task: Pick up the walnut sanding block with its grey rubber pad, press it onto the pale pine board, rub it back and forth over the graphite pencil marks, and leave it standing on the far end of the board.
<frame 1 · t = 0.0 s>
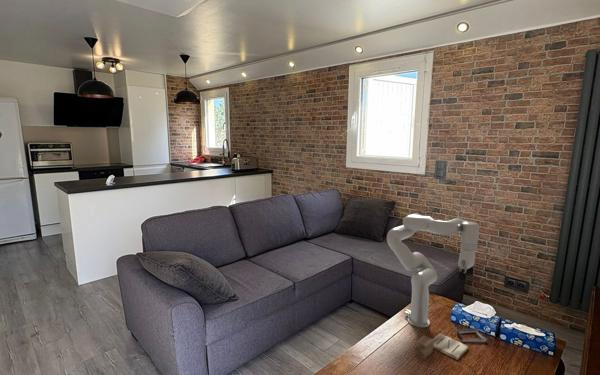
hand: (465, 277, 166), 37 cm above the table, tool pointing down, fingers open, 9 cm apart
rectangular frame: (469, 337, 176), on the table
walnut sanding block: (424, 353, 162), on the table
pine board: (448, 347, 167), on the table
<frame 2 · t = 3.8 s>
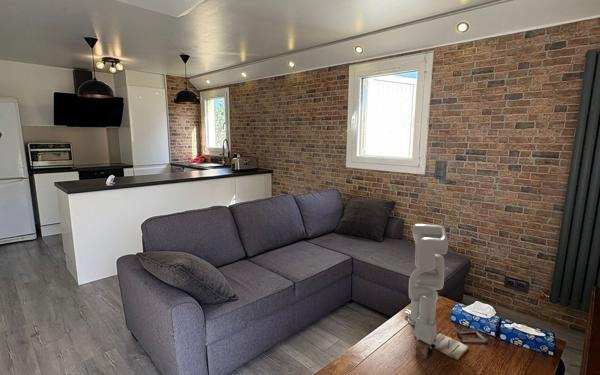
hand: (424, 351, 162), 1 cm above the table, tool pointing down, fingers closed on walnut sanding block, 5 cm apart
walnut sanding block: (424, 352, 162), on the table, touching gripper
everything else where it was.
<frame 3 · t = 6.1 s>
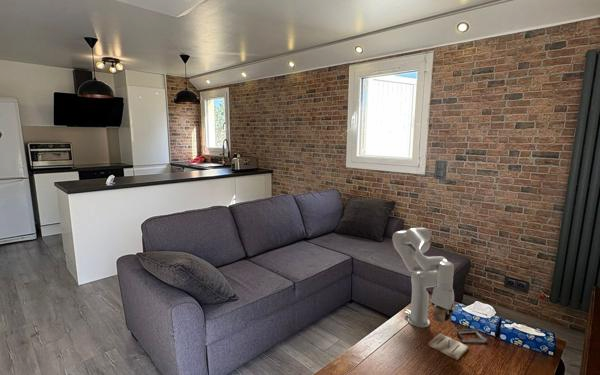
hand: (441, 317, 168), 15 cm above the table, tool pointing down, fingers closed on walnut sanding block, 5 cm apart
walnut sanding block: (441, 318, 168), point 14 cm above the table, touching gripper
everything else where it was.
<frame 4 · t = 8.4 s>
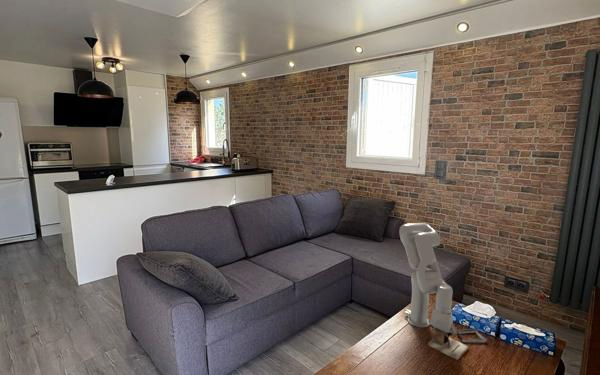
hand: (440, 339, 170), 2 cm above the table, tool pointing down, fingers closed on walnut sanding block, 5 cm apart
walnut sanding block: (440, 340, 170), point 2 cm above the table, touching gripper, pine board
everything else where it was.
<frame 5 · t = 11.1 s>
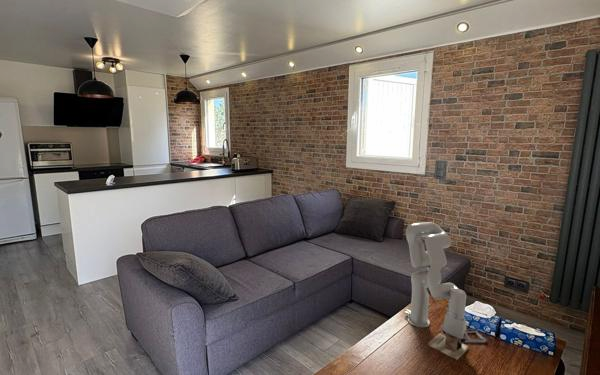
hand: (453, 345, 165), 2 cm above the table, tool pointing down, fingers closed on walnut sanding block, 5 cm apart
walnut sanding block: (453, 346, 165), point 2 cm above the table, touching gripper
everything else where it was.
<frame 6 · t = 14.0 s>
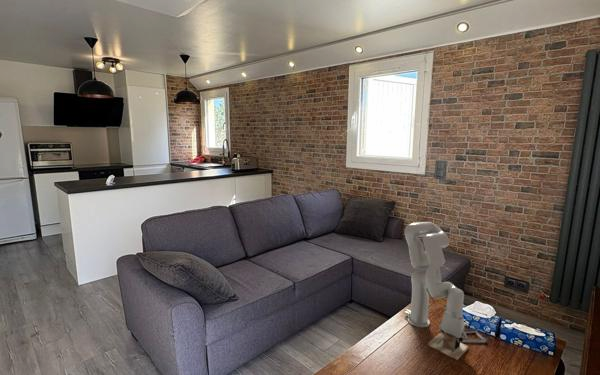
hand: (451, 344, 165), 2 cm above the table, tool pointing down, fingers closed on walnut sanding block, 5 cm apart
walnut sanding block: (451, 345, 165), point 2 cm above the table, touching gripper
everything else where it was.
when the fingers open (2 cm above the table, at t = 15.1 s): walnut sanding block stays where it is, resting on pine board.
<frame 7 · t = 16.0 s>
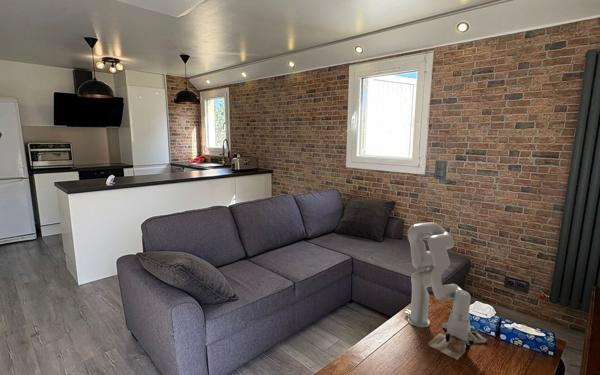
hand: (457, 345, 163), 3 cm above the table, tool pointing down, fingers open, 9 cm apart
walnut sanding block: (456, 348, 163), point 2 cm above the table, touching pine board
everything else where it was.
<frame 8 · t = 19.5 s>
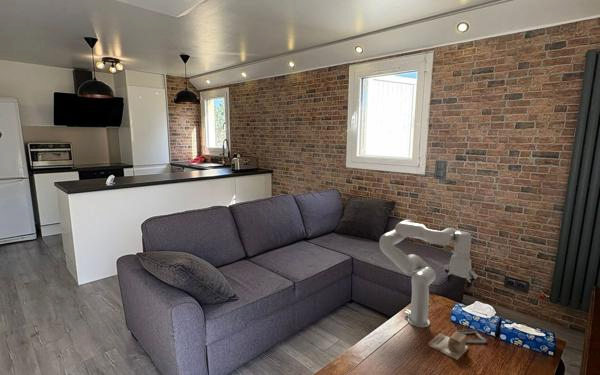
hand: (458, 284, 171), 30 cm above the table, tool pointing down, fingers open, 9 cm apart
nothing on the table moved.
at the end: walnut sanding block 0.2 cm from the target spot on the pine board, point 1.5 cm above the pine board's base; walnut sanding block tilted 0°; the gripper is holding nothing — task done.
